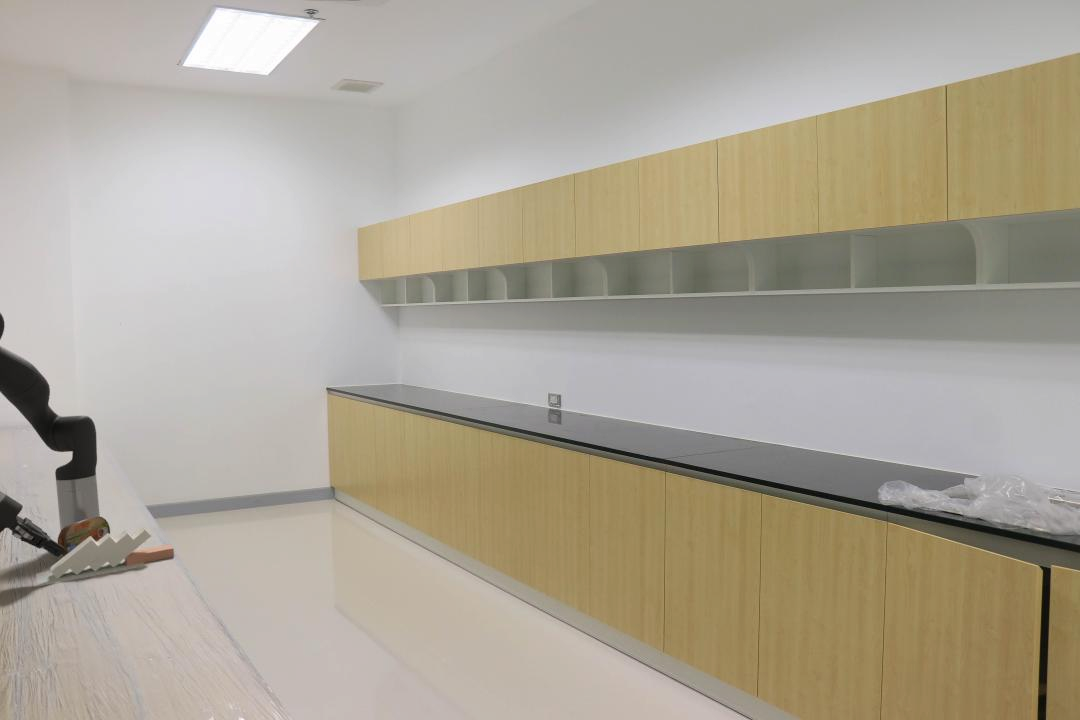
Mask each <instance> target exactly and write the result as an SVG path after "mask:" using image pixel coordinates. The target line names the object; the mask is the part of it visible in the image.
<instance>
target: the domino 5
mask: <svg viewBox="0 0 1080 720" xmlns="http://www.w3.org/2000/svg"><path fill="white" fill-rule="evenodd" d="M174 550H175V549H174V547H173V546H172V545H171V544H165V545H159V546H152V547H148V548H143V549H142V548H141V549H135V550H134V551H133V552H132V553H130V554H129V555H128V556H127V557H126V558H125V563H126V565H127V566H128V565H133V564H138V563H144V564H145V563H148V562H154V561H158V560H163V559H164V560H165V559H169V558H174V557H175V551H174Z"/></svg>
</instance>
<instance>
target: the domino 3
mask: <svg viewBox="0 0 1080 720" xmlns="http://www.w3.org/2000/svg"><path fill="white" fill-rule="evenodd" d="M114 540H115V542H116V543H115V544H114V545H113V546H112V547H110V548H109V549H108V550H107V551H106V552H104V553H103V554H102V555H101V556H99V557H98V558H97V559H96V560H95V561H93V562H92V563H91V564H90V565H89V566H90V567H91V568H92V569H93V570H94V571H97V570H98V569H99V568H100V567H101V566H103V565H104V564H105V563H106V562H107V561H109V560H110V559H111V558H112V557H113V556H115V555H116V554H117V553H118V552H119V551H121V550H122V549H123V548H124V547H125V546H127V545H128V544H129V543H130V542H132V541H133V538H132V536H131V534H130V533H129V532H128V531H127V530H126V529H124V530H123V531H122V532H121V533H119V534H118V535H117V536H116V537H115V538H114Z"/></svg>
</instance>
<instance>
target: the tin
mask: <svg viewBox="0 0 1080 720" xmlns="http://www.w3.org/2000/svg"><path fill="white" fill-rule="evenodd" d="M107 533H109V534H110V535H111V527H110V525H109V522H108V520H106V518H104V517H102V516H100V517H93V518H88V519H85V520H82V521H79V522H77V523H74V524H71V525H68V526H66V527H64V528H63V529H62V530H61V531H59V534H58V537H57V543H58V544H60V545H61V546H63V547H64V549H65V550H64V552H63V553H62V554H61V555H60V556H62V558H63V557H64V556H66V555H67V554H68V553H69V552H71V551H72V550H73V549H74V548H76V547H77V546H78V545H79V544H81V543H82V542H83V541H84V540H86V539H87V538H88V537H90V536H91V537H92V538H93V539H94V540H95V541H96V542H97V541H98V540H100V539H101V538H102V537H103V536H105V535H106V534H107Z"/></svg>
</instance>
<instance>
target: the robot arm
mask: <svg viewBox="0 0 1080 720" xmlns="http://www.w3.org/2000/svg"><path fill="white" fill-rule="evenodd" d="M4 332H5V319H4V316H3V315H2V313H1V312H0V340H1V339H2V337H3V334H4ZM43 375H44V374H42V373H41V372H40V371H39V370H38V368H37V367H36V366H35V365H34V364H32V363H31V362H30V361H28V359H25V358H24V357H22V356H20V355H18V354H17V353H14V352H12V351H11V350H9V349H6V348H5V347H3V346H1V345H0V393H1V395H3V396H4V397H5V399H6V400H7V401H8V402H10V404H12V405H13V406H14V407H15V408H16V409H17V410H18V411H19V413H20V414H21V415H22V416H23V417H24V419H26V421H27V422H28V423H29V424H30V425H31V426H32V428H33V430H35V431H36V433H37V435H38V437H39V438H41V439H40V440H42V441H43V443H44V444H45V445H46V446H47V447H48V448H49V449H50V450H51V451H54V452H57V453H66V452H67V453H69V452H71V453H72V456H71V457H72V458H71V460H70V461H69V462H66V464H63V465H61V466H59V467H57V468H56V469H55V473H54V474H55V483H56V485H55V487H56V493H57V495H56V496H57V507H58V508H57V509H58V518H59V527H60V529H59V530H60V531H59V532H61V530H62V529H63V528H64V527H66V526H68V525H71V524H74V523H77V522H79V521H82V520H85V519H88V518H93V517H101V516H100V514H101V513H100V504H99V494H98V492H99V491H98V480H97V464H98V452H97V451H98V448H97V443H98V442H97V441H98V440H97V429H96V425H95V422H94V421H93V419H92V418H91V417H90V416H88V415H71V416H70V415H68V416H61V415H58V414H57V413H56V412H54V411H55V410H53V409H52V408H51V406H50V404H49V402H50V396H51V395H50V394H51V389H50V384H49V383H48V381H47V379H46V378H45V377H44V376H43ZM23 507H24V506H23V504H21V503H20V502H18V501H16V500H15V499H13V498H12V497H10V496H8V494H6V493H4V492H2V491H1V490H0V534H1V533H2V532H3V531H4V530H5V529H9V530H10V531H11V535H12V536H13V537H15V538H17V539H19V540H20V541H22V542H24V543H26V544H29V545H31V546H33V547H35V548H37V549H39V550H40V549H43V550H45V551H47V552H48V553H50V554H51V555H52V556H54V557H56V558H58V557H60V556H62V555H61V554H62V553H63V552H64V550H65V549H64V547H63V546H61V545H60V544H58V542H56V541H55V540H53V539H51V536H50V535H49V534H48V533H47V532H46V531H44V530H43V529H42V527H39V526H38V525H36V524H35V523H34V522H33V521H32V520H31V519H29V518H28V517H24V518H22V517H21V516H18V515H19V514H20V513H21V511H22V510H23Z"/></svg>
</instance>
